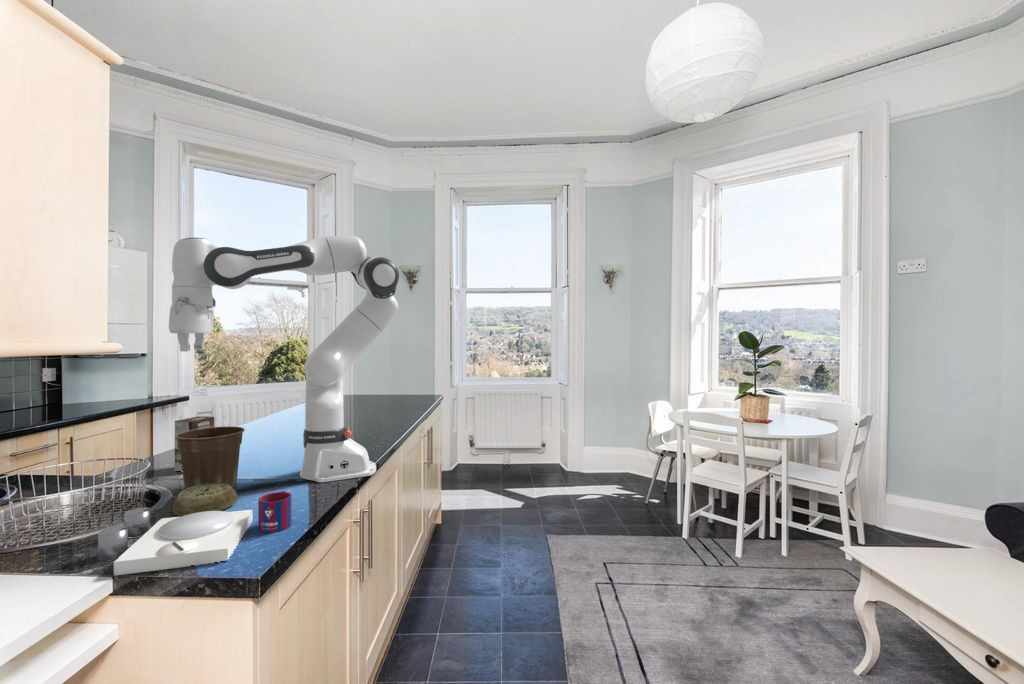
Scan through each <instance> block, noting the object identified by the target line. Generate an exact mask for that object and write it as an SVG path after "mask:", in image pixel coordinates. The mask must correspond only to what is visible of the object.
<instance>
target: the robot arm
mask: <svg viewBox="0 0 1024 684" xmlns="http://www.w3.org/2000/svg"><path fill="white" fill-rule="evenodd" d="M171 271H172V274H173V281H172V283H171V305H170V308H169V316H168V317H169V319H168V330H169V332H170V333H171V334H177V340H178V343H179V351H180V352H190V350H191V344H190V340H189V339H190V334H194V338H195V340H194V343H193V349H194V351H202V350H204V343H205V339H206V334H211V333H212V331H213V327H214V316H215V310H214V309H215V308H216V307H217V301H216V299H215V297H214V295H213V286H218V287H222V288H224V289H229V290H237V289H241V288H243V287H245V286H246V285H248V284H249V282H250V280H251V278H252V277H255V276H259V275H265V274H273V273H278V272H279V273H280V272H284V271H287V272H288V271H289V272H290V271H292V272H293V271H296V272H300V273H303V274H305V275H307V276H328V275H333V274H338V273H343V272H350V273H351V275H352V276H353V278H354V280H355V282H356V283H357V284H358V285H359V286H360V287H361V288H362V289H364V290H365V296H364V298H363V299H362V300H361V302H360V303H359V304H358V305H357V306H356V307H355V308H354V309H353V310H352V311H350V313H349V314H348V315H347V316H346V317H345V318H344V319H343V320H342V322H340V323H339V324H338V325H337V327H335V328H334V329H333V330H332V331H331V333H330V334H329V335H328V336H327V337H326V338H325V339H324V340H323V341H322V342H321V343H320V344H319V345H318V346H317V347H316V348H315V349H314V350H313V351H312V352H311V353H310V354H309V355H308V357H306V360H305V362H304V374H305V402H304V403H305V406H304V408H305V409H304V412H305V413H304V415H305V419H304V421H305V422H304V425H305V426H304V427H305V428H304V430H303V432H302V433H303V435H302V436H303V441H302V442H303V448H304V451H303V460H302V464H301V469H300V472H299V477H300V478H301V479H303V480H309V481H315V482H316V483H327V482H335V481H342V480H348V479H349V480H350V479H354V478H355V479H356V478H363V477H369V476H372V475H374V474H375V473H376V472H377V464H376V463H375V462H374V461H371V460H370V457H369V453H368V451H367V449H366V448H365V447H364V446H363V445H362V444H360V443H358V442H356V441H355V440H354V439H352V438H351V436H352V431H351V429H350V427H346V426H345V425H344V424H345V423H344V422H345V421H344V420H345V419H344V418H345V417H344V409H345V408H344V407H345V406H344V405H345V404H344V402H345V401H344V375H345V373H346V372H348V370H349V369H350V368H351V367H352V365H353V364H354V363H355V362H356V361H357V360H358V359H359V358H360V356H361V355H362V354H363V353H364V352H365V351H366V349H367V348H368V347H369V346H370V345H371V344H372V343H373V342H374V341H375V340H376V339H377V337H379V336H380V334H381V333H382V332H383V331H384V330H385V329H386V328H387V327H388V326H389V324H390V323H391V322H392V320H393V319H394V317H395V316H396V314H397V313H398V311H399V303H398V300H397V298H396V297H395V296H394V295H395V293H396V290H397V287H398V283H399V280H400V272H399V268H398V266H397V264H395V263H394V262H393V261H392V260H391V259H389V258H386V257H382V256H371V255H370V254H369V253H368V251H367V247H366V245H365V243H364V241H363V240H362V239H361V238H360V237H359V236H356V235H328V236H321V237H317V238H316V237H315V238H311V239H308V240H303V241H301V242H297V243H294V244H291V245H288V246H282V247H281V246H280V247H273V248H267V249H266V248H265V249H257V250H244V249H240V248H236V247H231V246H221V247H219V246H218V245H216V244H214V243H213V242H211V241H210V240H208V239H207V238H205V237H185V238H181V239H179V240H177V242H176V243H175V244H174V245H173V252H172V258H171Z"/></svg>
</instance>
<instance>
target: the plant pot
mask: <svg viewBox="0 0 1024 684" xmlns="http://www.w3.org/2000/svg"><path fill="white" fill-rule="evenodd" d="M244 432H245V428H244V427H241V426H214V427H210V428H201V429H194V430H189V431H185V432H181V433H178V434H176V435H175V434H174V439H175V438H176V439H177V442H178V450H179V451H180V454H181V462H182V471H183V472H182V477H183V478H182V480H183V490H185V489H187V488H189V487H192V486H196V485H201V484H208V483H224V484H228V485H230V486H231V487H233V489H234V488H235V487H237V482H238V474H239V473H238V471H239V462H240V450H241V444H242V443H243V441H242V440H243V433H244Z"/></svg>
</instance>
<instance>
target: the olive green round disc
mask: <svg viewBox="0 0 1024 684" xmlns="http://www.w3.org/2000/svg"><path fill="white" fill-rule="evenodd" d="M237 501H238V493H237V492H236V489H234V488H233V487H231V486H230V485H228V484H224V483H208V484H201V485H196V486H192V487H189V488H187V489H185V490H184V489H183V490H181V491H180V492H179V493H178V495H177V496H176V498H175V500H174V502H173V506H172V512H173V514H174V515H175V516H177V517H180V516H181V517H182V516H185V515H189V514H193V513H198V512H206V511H225V510H226V509H229V508H230V507H231V506H233V505H234V504H235V503H236V502H237Z"/></svg>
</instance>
